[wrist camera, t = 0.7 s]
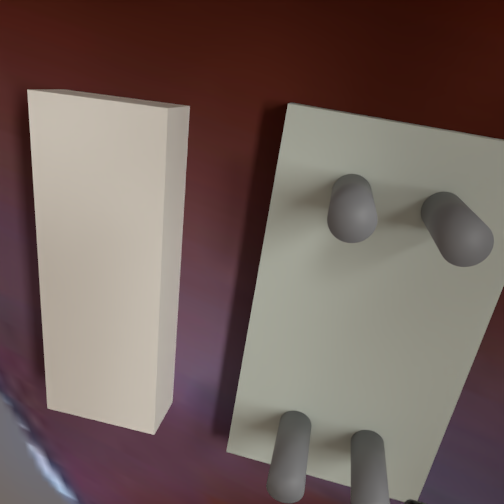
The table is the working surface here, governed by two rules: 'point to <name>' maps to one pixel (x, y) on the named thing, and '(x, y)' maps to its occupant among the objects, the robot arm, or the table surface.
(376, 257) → the peg stand
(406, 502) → the robot arm
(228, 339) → the table surface
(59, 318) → the shelf board
